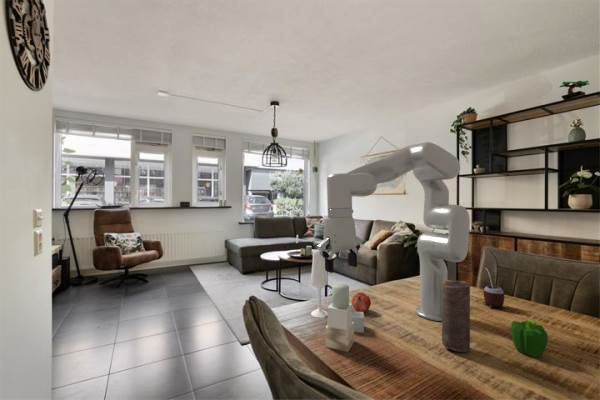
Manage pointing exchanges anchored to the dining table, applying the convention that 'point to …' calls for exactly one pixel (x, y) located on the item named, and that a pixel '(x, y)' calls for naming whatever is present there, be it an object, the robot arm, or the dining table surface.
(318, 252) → the champagne flute
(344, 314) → the tower top
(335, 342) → the tower base
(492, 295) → the mate gourd
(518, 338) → the bell pepper
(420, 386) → the dining table surface
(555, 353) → the dining table surface
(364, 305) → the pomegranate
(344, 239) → the robot arm
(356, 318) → the grey cube
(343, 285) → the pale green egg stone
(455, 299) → the candle
